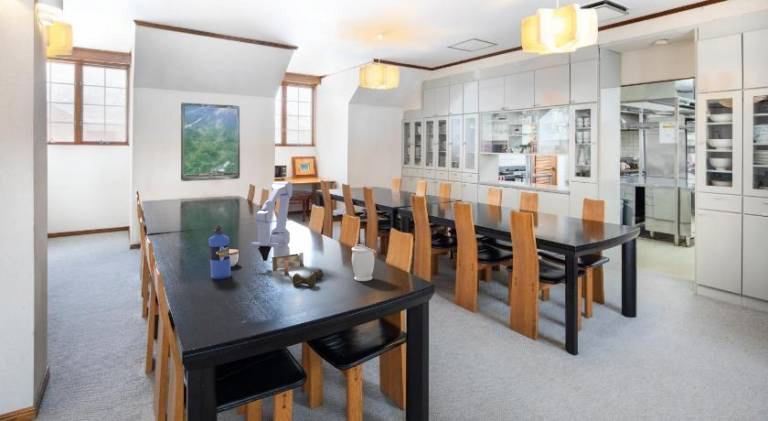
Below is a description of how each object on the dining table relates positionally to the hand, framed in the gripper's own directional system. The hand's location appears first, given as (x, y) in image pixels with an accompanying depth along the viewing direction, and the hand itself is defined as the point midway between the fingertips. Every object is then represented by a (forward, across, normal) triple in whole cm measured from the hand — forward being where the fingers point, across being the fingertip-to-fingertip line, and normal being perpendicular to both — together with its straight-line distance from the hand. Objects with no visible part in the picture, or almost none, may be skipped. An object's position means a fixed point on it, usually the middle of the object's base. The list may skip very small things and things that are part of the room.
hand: (265, 260), depth 232 cm
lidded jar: (+5, -23, +2) cm, 24 cm away
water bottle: (+5, -14, -18) cm, 23 cm away
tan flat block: (+4, +10, +3) cm, 11 cm away
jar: (+5, +55, -7) cm, 56 cm away
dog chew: (+5, +33, -20) cm, 38 cm away
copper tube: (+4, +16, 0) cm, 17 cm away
